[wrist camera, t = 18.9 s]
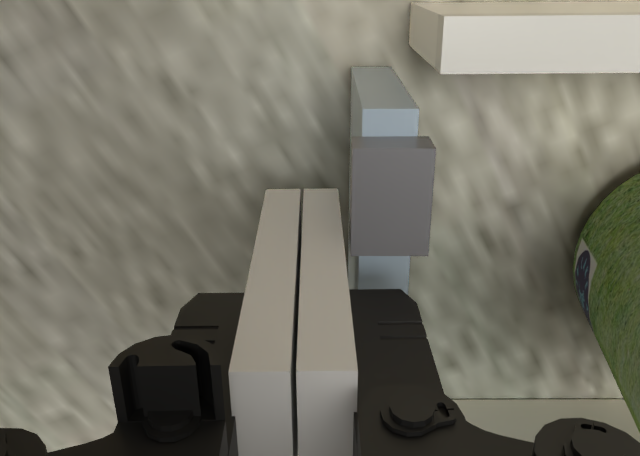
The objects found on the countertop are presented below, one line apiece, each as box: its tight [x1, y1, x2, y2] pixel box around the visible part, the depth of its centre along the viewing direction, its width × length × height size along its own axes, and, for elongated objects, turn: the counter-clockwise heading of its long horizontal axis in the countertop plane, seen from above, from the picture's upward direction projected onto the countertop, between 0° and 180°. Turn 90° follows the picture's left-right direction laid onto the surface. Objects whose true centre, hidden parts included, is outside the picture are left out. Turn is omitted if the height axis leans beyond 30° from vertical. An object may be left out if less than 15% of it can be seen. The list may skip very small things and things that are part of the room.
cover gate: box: [348, 67, 436, 295], centre depth 15 cm, size 12×2×6 cm, turn 0°
